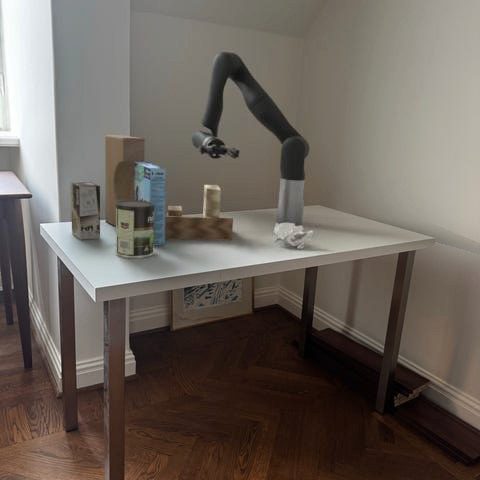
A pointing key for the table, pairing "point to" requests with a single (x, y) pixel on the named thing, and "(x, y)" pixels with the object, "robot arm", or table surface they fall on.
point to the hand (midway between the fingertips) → (223, 154)
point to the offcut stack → (174, 211)
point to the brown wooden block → (198, 228)
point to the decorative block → (121, 170)
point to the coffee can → (134, 228)
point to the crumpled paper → (291, 234)
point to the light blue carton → (152, 194)
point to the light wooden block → (211, 201)
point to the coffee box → (85, 210)
